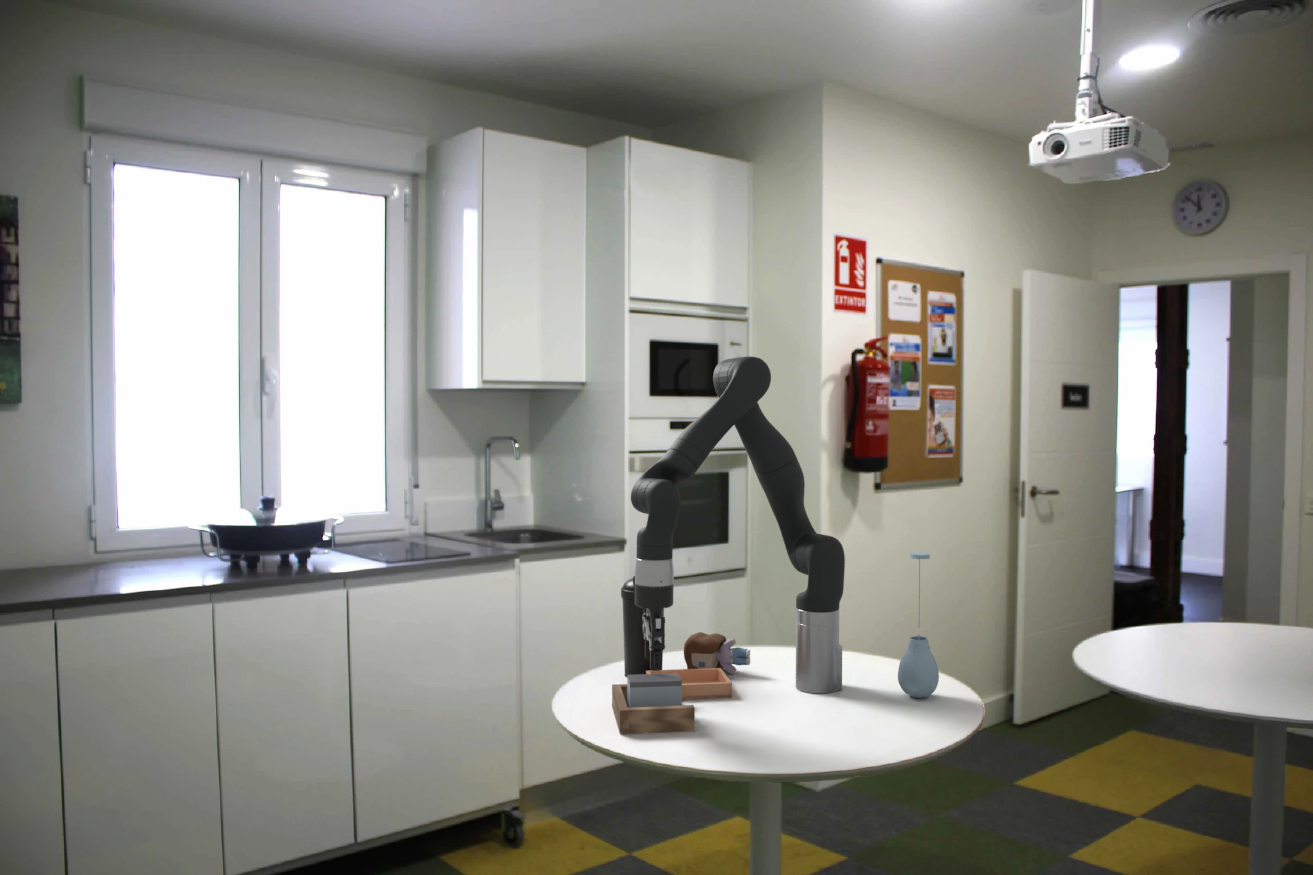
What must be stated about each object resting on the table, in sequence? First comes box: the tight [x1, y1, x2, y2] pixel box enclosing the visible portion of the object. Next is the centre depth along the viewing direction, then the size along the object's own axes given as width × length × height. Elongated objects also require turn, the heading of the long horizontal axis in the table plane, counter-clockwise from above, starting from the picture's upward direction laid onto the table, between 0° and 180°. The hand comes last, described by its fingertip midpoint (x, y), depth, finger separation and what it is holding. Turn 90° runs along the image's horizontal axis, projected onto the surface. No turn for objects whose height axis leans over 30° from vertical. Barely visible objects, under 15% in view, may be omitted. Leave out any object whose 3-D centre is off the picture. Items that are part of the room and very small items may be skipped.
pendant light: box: [897, 551, 940, 699], centre depth 203 cm, size 8×8×30 cm
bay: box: [611, 683, 696, 735], centre depth 189 cm, size 14×17×4 cm
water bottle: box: [620, 575, 665, 678], centre depth 220 cm, size 10×10×23 cm
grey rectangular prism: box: [626, 673, 683, 708], centre depth 189 cm, size 10×6×8 cm, turn 97°
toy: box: [683, 631, 751, 675], centre depth 222 cm, size 9×8×15 cm
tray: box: [646, 668, 733, 700], centre depth 207 cm, size 17×12×3 cm
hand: (653, 664), depth 189 cm, fingers open, 8 cm apart
